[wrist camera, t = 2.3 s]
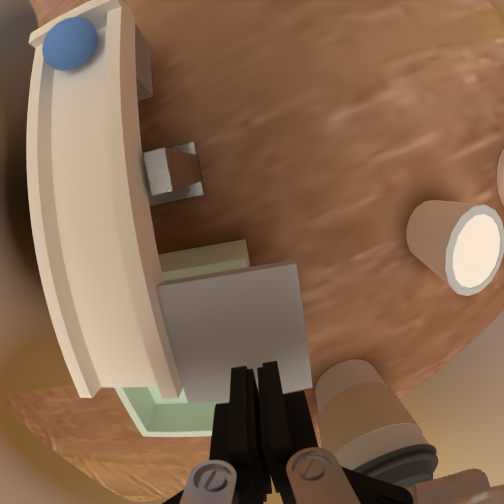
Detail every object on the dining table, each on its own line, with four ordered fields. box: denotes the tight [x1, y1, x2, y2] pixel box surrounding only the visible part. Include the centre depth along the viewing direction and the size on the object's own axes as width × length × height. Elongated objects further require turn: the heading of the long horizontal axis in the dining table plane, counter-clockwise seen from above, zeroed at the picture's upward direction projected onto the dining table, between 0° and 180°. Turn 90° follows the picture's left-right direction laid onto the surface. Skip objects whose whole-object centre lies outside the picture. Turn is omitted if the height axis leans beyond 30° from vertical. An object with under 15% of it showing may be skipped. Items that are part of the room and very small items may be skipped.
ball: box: [42, 17, 98, 71], centre depth 10 cm, size 3×3×3 cm
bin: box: [114, 239, 251, 437], centre depth 23 cm, size 16×13×5 cm
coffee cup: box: [315, 359, 438, 488], centre depth 20 cm, size 9×9×15 cm
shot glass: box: [406, 200, 504, 296], centre depth 20 cm, size 7×7×7 cm
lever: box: [27, 0, 313, 404], centre depth 13 cm, size 21×12×6 cm, turn 10°
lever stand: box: [142, 142, 205, 206], centre depth 17 cm, size 4×8×10 cm, turn 100°
